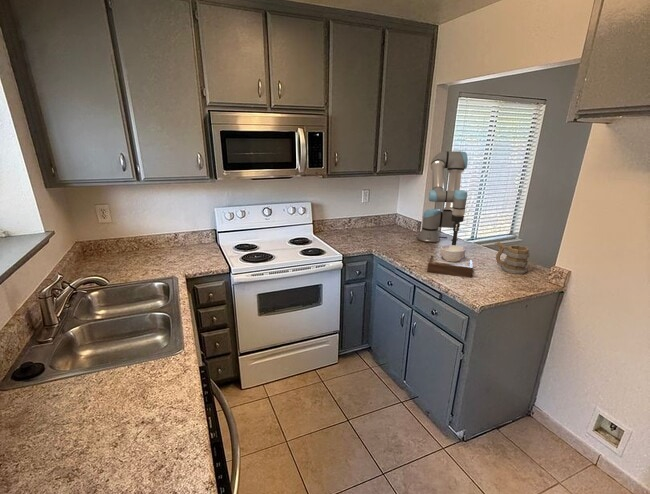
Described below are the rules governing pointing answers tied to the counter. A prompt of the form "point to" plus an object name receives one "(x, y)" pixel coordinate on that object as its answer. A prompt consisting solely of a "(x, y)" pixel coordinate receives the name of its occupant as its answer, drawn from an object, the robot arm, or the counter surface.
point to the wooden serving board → (450, 268)
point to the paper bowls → (452, 252)
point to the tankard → (513, 258)
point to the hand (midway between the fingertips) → (453, 250)
